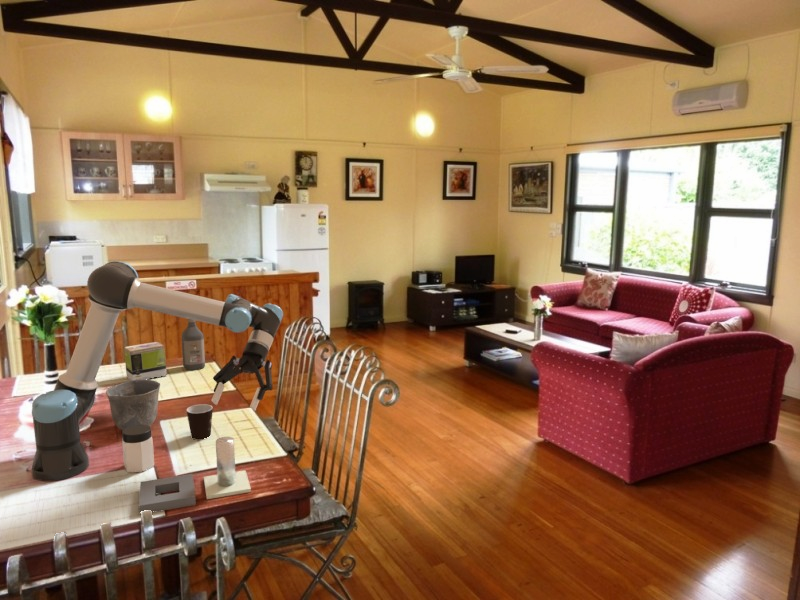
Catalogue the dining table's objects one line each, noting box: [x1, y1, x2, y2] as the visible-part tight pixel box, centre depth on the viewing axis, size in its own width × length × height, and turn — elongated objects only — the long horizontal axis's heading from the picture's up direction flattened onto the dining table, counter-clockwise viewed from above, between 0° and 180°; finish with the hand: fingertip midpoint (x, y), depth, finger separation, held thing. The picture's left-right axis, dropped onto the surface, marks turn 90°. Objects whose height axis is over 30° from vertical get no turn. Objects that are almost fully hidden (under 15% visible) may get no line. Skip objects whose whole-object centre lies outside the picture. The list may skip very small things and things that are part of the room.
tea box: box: [123, 341, 168, 381], centre depth 269 cm, size 15×10×15 cm, turn 130°
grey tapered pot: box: [105, 379, 161, 431], centre depth 212 cm, size 18×18×15 cm
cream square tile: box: [203, 469, 252, 500], centre depth 171 cm, size 12×12×1 cm
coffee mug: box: [186, 403, 214, 440], centre depth 206 cm, size 12×9×10 cm
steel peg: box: [215, 436, 236, 487], centre depth 170 cm, size 5×5×13 cm
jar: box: [121, 425, 155, 473], centre depth 182 cm, size 9×8×12 cm
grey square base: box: [138, 473, 196, 514], centre depth 164 cm, size 14×14×2 cm
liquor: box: [180, 319, 206, 371], centre depth 283 cm, size 9×9×30 cm
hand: (233, 405), depth 182 cm, fingers open, 13 cm apart
